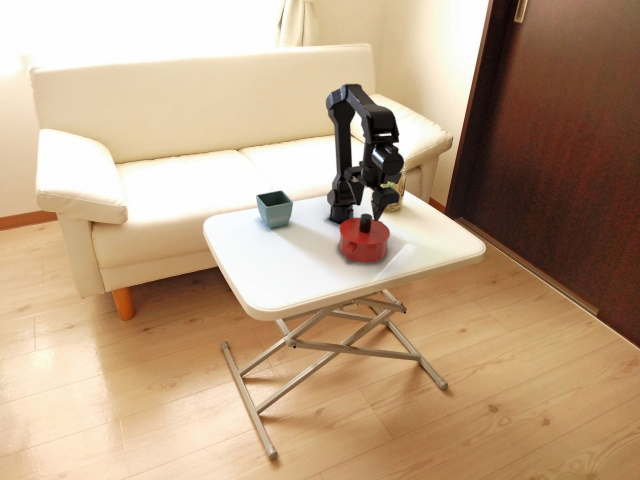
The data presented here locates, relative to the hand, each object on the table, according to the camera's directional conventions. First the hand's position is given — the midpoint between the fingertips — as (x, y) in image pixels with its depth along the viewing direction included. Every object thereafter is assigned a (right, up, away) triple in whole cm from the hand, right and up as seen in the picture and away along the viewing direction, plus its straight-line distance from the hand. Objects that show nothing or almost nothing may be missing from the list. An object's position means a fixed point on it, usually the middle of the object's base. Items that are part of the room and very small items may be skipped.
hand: (367, 212), depth 124 cm
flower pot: (-27, -3, +17) cm, 32 cm away
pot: (-1, -11, +7) cm, 12 cm away
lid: (0, -5, +3) cm, 6 cm away
